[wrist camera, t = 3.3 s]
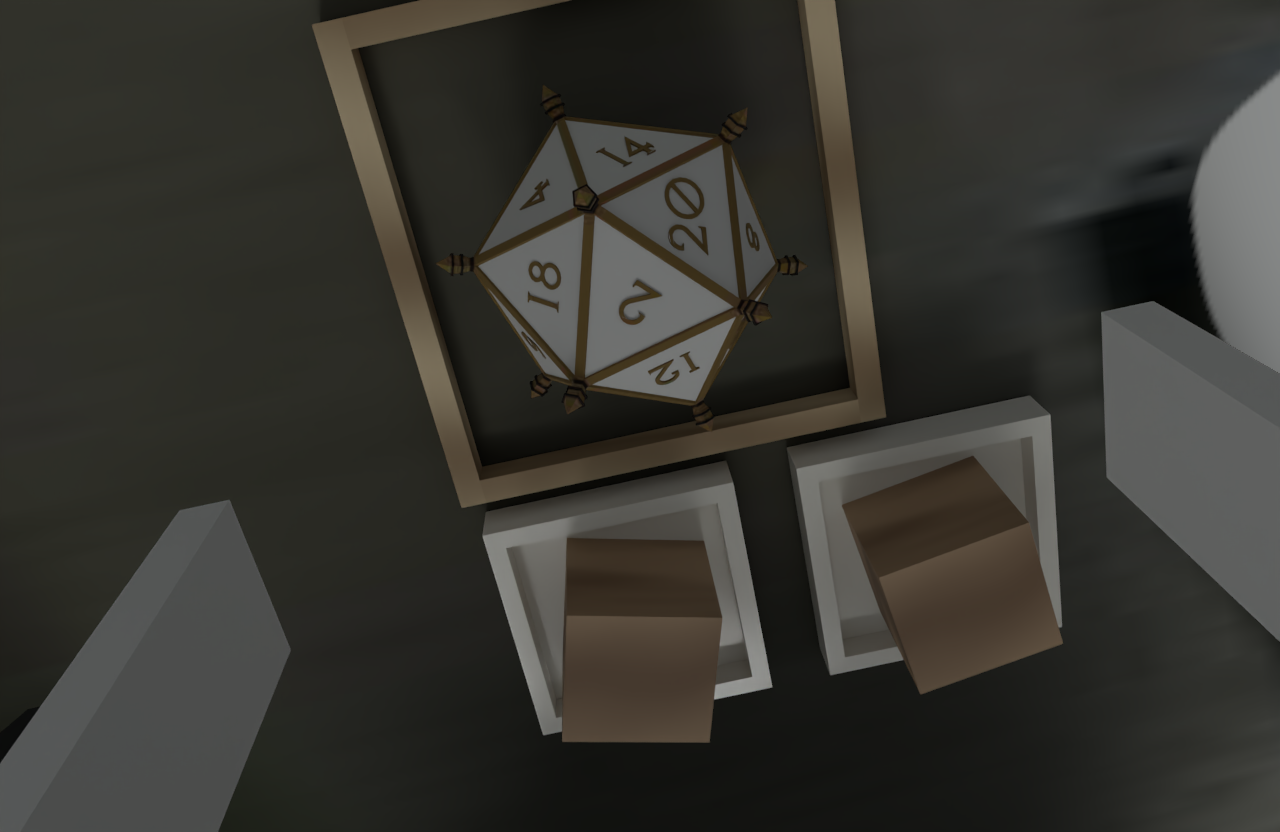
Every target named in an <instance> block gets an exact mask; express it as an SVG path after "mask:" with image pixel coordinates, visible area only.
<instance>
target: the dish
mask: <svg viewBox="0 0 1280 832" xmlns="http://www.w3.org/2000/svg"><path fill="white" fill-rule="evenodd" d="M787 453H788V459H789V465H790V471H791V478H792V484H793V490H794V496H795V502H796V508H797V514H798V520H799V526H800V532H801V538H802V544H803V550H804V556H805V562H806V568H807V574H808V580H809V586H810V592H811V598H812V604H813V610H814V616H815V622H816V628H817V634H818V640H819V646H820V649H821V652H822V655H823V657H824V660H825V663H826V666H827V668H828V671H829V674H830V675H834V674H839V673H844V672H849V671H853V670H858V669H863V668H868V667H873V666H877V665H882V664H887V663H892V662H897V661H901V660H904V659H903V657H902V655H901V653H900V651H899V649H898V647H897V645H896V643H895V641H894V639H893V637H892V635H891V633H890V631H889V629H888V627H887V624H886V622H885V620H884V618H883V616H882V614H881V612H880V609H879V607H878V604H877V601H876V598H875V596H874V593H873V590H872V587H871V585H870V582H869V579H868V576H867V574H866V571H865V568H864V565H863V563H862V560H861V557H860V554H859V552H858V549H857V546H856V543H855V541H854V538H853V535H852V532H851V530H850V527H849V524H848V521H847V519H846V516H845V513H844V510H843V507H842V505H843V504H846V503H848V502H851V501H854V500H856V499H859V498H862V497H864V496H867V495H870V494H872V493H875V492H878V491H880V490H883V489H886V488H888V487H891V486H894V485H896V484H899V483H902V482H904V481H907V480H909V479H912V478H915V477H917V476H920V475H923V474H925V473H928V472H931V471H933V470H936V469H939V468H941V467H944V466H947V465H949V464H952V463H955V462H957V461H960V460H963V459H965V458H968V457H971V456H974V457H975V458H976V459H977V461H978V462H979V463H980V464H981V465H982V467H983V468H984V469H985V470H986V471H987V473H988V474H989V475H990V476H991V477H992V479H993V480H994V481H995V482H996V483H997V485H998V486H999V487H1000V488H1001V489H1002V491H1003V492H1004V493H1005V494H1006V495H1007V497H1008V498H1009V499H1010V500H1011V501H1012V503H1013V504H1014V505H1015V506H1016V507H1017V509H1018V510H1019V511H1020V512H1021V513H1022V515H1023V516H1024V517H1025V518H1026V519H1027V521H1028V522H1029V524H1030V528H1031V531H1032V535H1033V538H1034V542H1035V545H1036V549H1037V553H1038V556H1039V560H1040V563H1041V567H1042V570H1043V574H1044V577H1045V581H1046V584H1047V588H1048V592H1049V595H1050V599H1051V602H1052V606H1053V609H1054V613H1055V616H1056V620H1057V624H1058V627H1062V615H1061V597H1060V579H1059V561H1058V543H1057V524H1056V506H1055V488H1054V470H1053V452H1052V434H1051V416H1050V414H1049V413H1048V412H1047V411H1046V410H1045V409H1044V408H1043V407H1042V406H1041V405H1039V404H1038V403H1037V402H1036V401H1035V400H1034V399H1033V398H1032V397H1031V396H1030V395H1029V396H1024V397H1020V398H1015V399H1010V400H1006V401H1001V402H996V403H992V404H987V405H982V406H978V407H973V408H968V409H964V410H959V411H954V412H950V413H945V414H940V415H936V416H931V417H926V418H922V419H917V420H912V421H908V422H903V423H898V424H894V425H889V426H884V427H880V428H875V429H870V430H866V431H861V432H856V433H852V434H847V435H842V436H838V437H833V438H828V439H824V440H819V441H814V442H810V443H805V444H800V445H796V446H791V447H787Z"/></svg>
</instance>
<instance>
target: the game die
mask: <svg viewBox="0 0 1280 832" xmlns="http://www.w3.org/2000/svg"><path fill="white" fill-rule="evenodd" d="M560 96H561V95H560V94H556V93H555V92H553V91H552V90H550V89H549V88H547V87H546V86H544V85H543V91H542V103H541V104H540V105H541V106H543V107H544V108H545V110H546V112H545V114H548V115H549V116H550V117H551V118H552V119H553V124H552V126H551V128H550V129H549V131H548V133H547V134H546V136H545V138H544V139H543V141H542V143H541V144H540V146H539V148H538V149H537V151H536V153H535V155H534V156H533V158H532V160H531V161H530V163H529V165H528V166H527V168H526V170H525V171H524V173H523V175H522V176H521V178H520V180H519V181H518V183H517V185H516V186H515V188H514V190H513V191H512V193H511V195H510V196H509V198H508V200H507V201H506V203H505V205H504V207H503V208H502V210H501V212H500V213H499V215H498V217H497V218H496V220H495V222H494V223H493V225H492V227H491V228H490V230H489V232H488V233H487V235H486V237H485V238H484V240H483V242H482V243H481V245H480V247H479V248H478V250H477V252H476V254H475V255H474V257H472V258H468V257H465V256H463V254H460V255H459V256H456V255H453V254H452V253H451V254H450V256H449V257H447V258H445V259H443V260H441V261H439V262H437V263H436V264H437V265H438V266H440V267H441V268H443V269H445V270H446V271H448V272H449V273H451V276H453V274H457V273H460V275H463V273H465V272H468V271H473V272H474V273H475V275H476V276H477V277H478V279H479V280H480V282H481V283H482V285H483V286H484V288H485V289H486V291H487V292H488V294H489V295H490V297H491V298H492V300H493V301H494V302H495V304H496V305H497V307H498V308H499V310H500V311H501V313H502V314H503V316H504V317H505V319H506V320H507V322H508V323H509V325H510V326H511V328H512V329H513V330H514V332H515V333H516V335H517V336H518V338H519V339H520V341H521V342H522V344H523V345H524V347H525V348H526V350H527V351H528V353H529V354H530V355H531V357H532V358H533V360H534V361H535V363H536V364H537V366H538V367H539V369H540V370H541V372H542V374H540V375H539V376H537V375H535V379H534V381H530V386H531V398H534V397H538V396H542V397H543V396H544V395H545V394H546V393H547V392H548V391H547V390H548V389H549V388H550V387H551V386H552V385H551V381H552V380H553V381H556V382H560V383H563V384H566V385H569V386H568V388H567V391H566V393H564V396H563V400H562V403H564V405H565V409H566V412H567V415H568V414H569V413H571V412H573V411H574V410H576V409H579V408H582V407H584V406H585V404H584V403H583V402H584V400H585V399H587V395H586V390H590V391H597V392H603V393H610V394H617V395H623V396H630V397H637V398H643V399H650V400H657V401H663V402H670V403H677V404H683V405H690V406H691V407H692V408H693V413H694V414H693V416H692V417H693V418H695V419H696V422H697V423H696V426H697V425H699V426H701V427H703V428H704V429H706V430H708V431H709V432H711V433H712V427H713V419H714V418H715V415H712V413H711V411H710V410H711V408H710V407H707V406H706V405H705V404H704V401H703V399H704V398H705V396H706V394H707V392H708V391H709V389H710V387H711V385H712V384H713V382H714V380H715V379H716V377H717V375H718V373H719V372H720V370H721V368H722V366H723V365H724V363H725V361H726V360H727V358H728V356H729V354H730V353H731V351H732V349H733V347H734V346H735V344H736V342H737V341H738V339H739V337H740V335H741V334H742V332H743V330H744V329H745V327H746V325H747V323H748V322H750V321H753V323H754V325H757V324H759V323H761V322H762V321H764V320H767V319H770V318H772V316H771V314H770V312H769V310H768V304H765V303H762V302H760V301H761V299H762V297H763V296H764V294H765V292H766V291H767V289H768V287H769V285H770V284H771V282H772V280H773V278H774V277H775V275H776V273H777V272H781V273H782V274H783V275H789V274H790V275H798V272H800V271H801V270H803V269H804V268H806V267H808V266H807V265H806V264H804V263H803V262H801V261H800V260H799V259H797V257H796V256H795V255H793V256H792V257H788V256H787V255H786V256H785V257H784V258H782V259H776V256H775V254H774V252H773V249H772V247H771V244H770V242H769V239H768V237H767V234H766V232H765V229H764V227H763V224H762V222H761V219H760V217H759V214H758V212H757V209H756V207H755V204H754V202H753V199H752V197H751V194H750V192H749V189H748V187H747V184H746V182H745V180H744V177H743V175H742V172H741V170H740V167H739V165H738V162H737V160H736V157H735V155H734V152H733V150H732V147H731V145H730V144H731V141H732V140H733V139H735V138H736V137H739V138H740V137H741V135H740V133H741V132H742V131H743V130H744V129H745V130H747V127H746V119H747V108H748V107H747V108H745V109H743V110H741V111H739V112H737V113H735V114H732V113H731V114H729V115H728V116H727V117H728V120H727V121H726V122H724V123H723V124H722V126H723V128H722V131H721V133H720V134H713V133H704V132H696V131H687V130H678V129H670V128H661V127H653V126H644V125H636V124H627V123H619V122H610V121H601V120H593V119H584V118H576V117H567V116H566V115H565V114H564V109H563V106H564V105H565V104H564V103H562V102H561V100H560Z"/></svg>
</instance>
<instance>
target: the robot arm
mask: <svg viewBox="0 0 1280 832" xmlns="http://www.w3.org/2000/svg"><path fill="white" fill-rule="evenodd" d="M1101 318H1102V349H1103V381H1104V412H1105V444H1106V476H1107V478H1108V479H1109V480H1110V481H1111V482H1112V483H1113V484H1114V485H1115V486H1116V487H1117V488H1118V489H1119V490H1120V491H1122V492H1123V493H1124V494H1125V495H1126V496H1127V497H1128V498H1129V499H1130V500H1131V501H1132V502H1133V503H1134V504H1135V505H1136V506H1137V507H1138V508H1139V509H1140V510H1142V511H1143V512H1144V513H1145V514H1146V515H1147V516H1148V517H1149V518H1150V519H1151V520H1152V521H1153V522H1154V523H1155V524H1156V525H1157V526H1158V527H1159V528H1160V529H1162V530H1163V531H1164V532H1165V533H1166V534H1167V535H1168V536H1169V537H1170V538H1171V539H1172V540H1173V541H1174V542H1175V543H1176V544H1177V545H1178V546H1179V547H1181V548H1182V549H1183V550H1184V551H1185V552H1186V553H1187V554H1188V555H1189V556H1190V557H1191V558H1192V559H1193V560H1194V561H1195V562H1196V563H1197V564H1198V565H1199V566H1201V567H1202V568H1203V569H1204V570H1205V571H1206V572H1207V573H1208V574H1209V575H1210V576H1211V577H1212V578H1213V579H1214V580H1215V581H1216V582H1217V583H1218V584H1219V585H1221V586H1222V587H1223V588H1224V589H1225V590H1226V591H1227V592H1228V593H1229V594H1230V595H1231V596H1232V597H1233V598H1234V599H1235V600H1236V601H1237V602H1238V603H1240V604H1241V605H1242V606H1243V607H1244V608H1245V609H1246V610H1247V611H1248V612H1249V613H1250V614H1251V615H1252V616H1253V617H1254V618H1255V619H1256V620H1257V621H1258V622H1260V623H1261V624H1262V625H1263V626H1264V627H1265V628H1266V629H1267V630H1268V631H1269V632H1270V633H1271V634H1272V635H1273V636H1274V637H1275V638H1276V639H1277V640H1278V641H1280V373H1278V372H1276V371H1274V370H1273V369H1271V368H1269V367H1267V366H1265V365H1264V364H1262V363H1260V362H1259V361H1257V360H1255V359H1253V358H1252V357H1250V356H1248V355H1246V354H1244V353H1243V352H1241V351H1239V350H1238V349H1236V348H1234V347H1232V346H1231V345H1229V344H1227V343H1225V342H1224V341H1222V340H1220V339H1218V338H1217V337H1215V336H1213V335H1212V334H1210V333H1208V332H1206V331H1205V330H1203V329H1201V328H1199V327H1198V326H1196V325H1194V324H1192V323H1191V322H1189V321H1187V320H1185V319H1184V318H1182V317H1180V316H1178V315H1177V314H1175V313H1173V312H1171V311H1170V310H1168V309H1166V308H1164V307H1163V306H1161V305H1159V304H1157V303H1156V302H1154V301H1151V302H1146V303H1142V304H1137V305H1133V306H1128V307H1123V308H1119V309H1114V310H1109V311H1105V312H1101ZM290 651H291V649H290V647H289V644H288V642H287V639H286V637H285V634H284V632H283V629H282V627H281V625H280V622H279V620H278V617H277V615H276V612H275V610H274V607H273V605H272V603H271V600H270V598H269V595H268V593H267V590H266V588H265V585H264V583H263V581H262V578H261V576H260V573H259V571H258V568H257V566H256V564H255V561H254V559H253V556H252V554H251V551H250V549H249V546H248V544H247V542H246V539H245V537H244V534H243V532H242V529H241V527H240V524H239V522H238V520H237V517H236V515H235V512H234V510H233V507H232V505H231V502H230V500H226V501H221V502H216V503H212V504H207V505H202V506H198V507H193V508H188V509H184V510H179V512H178V513H177V515H176V516H175V517H174V519H173V520H172V522H171V523H170V524H169V526H168V527H167V529H166V530H165V532H164V533H163V534H162V536H161V537H160V539H159V540H158V541H157V543H156V544H155V546H154V547H153V548H152V550H151V551H150V553H149V554H148V556H147V557H146V558H145V560H144V561H143V563H142V564H141V565H140V567H139V568H138V570H137V571H136V572H135V574H134V575H133V577H132V578H131V579H130V581H129V582H128V584H127V585H126V587H125V588H124V589H123V591H122V592H121V594H120V595H119V596H118V598H117V599H116V601H115V602H114V603H113V605H112V606H111V608H110V609H109V611H108V612H107V613H106V615H105V616H104V618H103V619H102V620H101V622H100V623H99V625H98V626H97V627H96V629H95V630H94V632H93V633H92V635H91V636H90V637H89V639H88V640H87V642H86V643H85V644H84V646H83V647H82V649H81V650H80V651H79V653H78V654H77V656H76V657H75V659H74V660H73V661H72V663H71V664H70V666H69V667H68V668H67V670H66V671H65V673H64V674H63V675H62V677H61V678H60V680H59V681H58V682H57V684H56V685H55V687H54V688H53V690H52V691H51V692H50V694H49V695H48V697H47V698H46V699H45V701H44V702H43V704H42V705H41V706H40V707H37V708H32V709H28V710H26V711H25V712H24V713H23V714H22V715H21V716H19V717H18V718H17V719H16V720H15V721H14V722H12V723H11V724H10V725H9V726H8V727H7V728H5V729H4V730H3V731H2V732H1V733H0V832H218V830H219V827H220V825H221V822H222V820H223V817H224V815H225V813H226V810H227V808H228V805H229V803H230V800H231V798H232V795H233V793H234V790H235V788H236V785H237V783H238V780H239V778H240V775H241V773H242V770H243V768H244V765H245V763H246V760H247V758H248V755H249V753H250V750H251V748H252V745H253V743H254V740H255V738H256V735H257V733H258V730H259V728H260V725H261V723H262V720H263V718H264V715H265V713H266V711H267V708H268V706H269V703H270V701H271V698H272V696H273V693H274V691H275V688H276V686H277V683H278V681H279V678H280V676H281V673H282V671H283V668H284V666H285V663H286V661H287V658H288V656H289V653H290Z"/></svg>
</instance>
